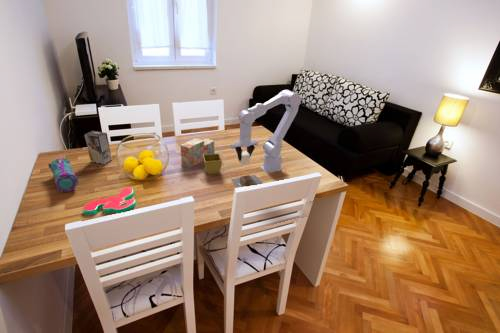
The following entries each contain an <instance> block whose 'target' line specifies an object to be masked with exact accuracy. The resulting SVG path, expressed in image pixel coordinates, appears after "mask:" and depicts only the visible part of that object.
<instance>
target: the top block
mask: <svg viewBox="0 0 500 333" xmlns="http://www.w3.org/2000/svg"><path fill="white" fill-rule="evenodd" d="M237 159H238V158H237ZM250 159H251V157H250V154H249V153H248V152H247V150H244V151H242V155H241V161H240V160H239V159H238V162H239V163H240V164H241V165H246V164H250V163H251V162H250Z"/></svg>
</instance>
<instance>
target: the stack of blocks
mask: <svg viewBox="0 0 500 333" xmlns="http://www.w3.org/2000/svg"><path fill="white" fill-rule="evenodd" d="M204 154H215V140H212V139H209V138H204V139H200V138H197V137H196V138H195V137H194V138H193V139H191V140H188V141H186V142H184V143H182V144H180V157H181V165H182V166H184V167H187V168H192V167H194V166H196V165H198V164H201V163H202V162H204V159H203V155H204Z"/></svg>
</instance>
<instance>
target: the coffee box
mask: <svg viewBox="0 0 500 333" xmlns="http://www.w3.org/2000/svg"><path fill="white" fill-rule="evenodd" d="M84 139H85V142H86V148H87V151H88V155H89V156H88V157H89V159H90V163H94V162H96V164H99V163H101V164H100V165H107V164H108V163H110V162H111V161H112V160H113V158H112V152H111V147H110V143H109V142H110V141H109V138H108V132H105V131H104V132H103V131H96V130H91V131H89V132H87V133H84ZM111 159H112V160H111ZM110 160H111V161H110ZM109 161H110V162H109ZM107 162H108V163H107ZM106 163H107V164H106Z"/></svg>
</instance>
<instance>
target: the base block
mask: <svg viewBox="0 0 500 333" xmlns="http://www.w3.org/2000/svg"><path fill="white" fill-rule="evenodd" d="M239 178H240V185H241V186H242V187H243V186H250V185H253V181H254V180H253V179H252V178H251V177H250V175H249V174H248V175H243V176H242V175H241V176H239Z"/></svg>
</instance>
